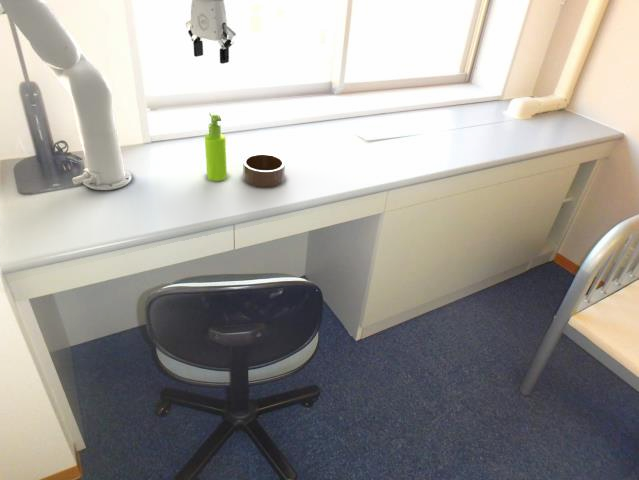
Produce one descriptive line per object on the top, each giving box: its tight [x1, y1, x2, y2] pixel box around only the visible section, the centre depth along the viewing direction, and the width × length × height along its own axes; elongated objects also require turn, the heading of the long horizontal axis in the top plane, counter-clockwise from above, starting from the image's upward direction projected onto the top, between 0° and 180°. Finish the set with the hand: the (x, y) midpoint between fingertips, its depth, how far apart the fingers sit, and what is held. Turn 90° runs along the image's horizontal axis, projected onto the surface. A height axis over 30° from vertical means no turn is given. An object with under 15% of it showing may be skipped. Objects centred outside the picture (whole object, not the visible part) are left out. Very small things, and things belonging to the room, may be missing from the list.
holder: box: [242, 153, 286, 189], centre depth 137 cm, size 13×13×6 cm
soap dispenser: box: [204, 112, 228, 182], centre depth 131 cm, size 6×7×20 cm
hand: (211, 59), depth 129 cm, fingers open, 9 cm apart
